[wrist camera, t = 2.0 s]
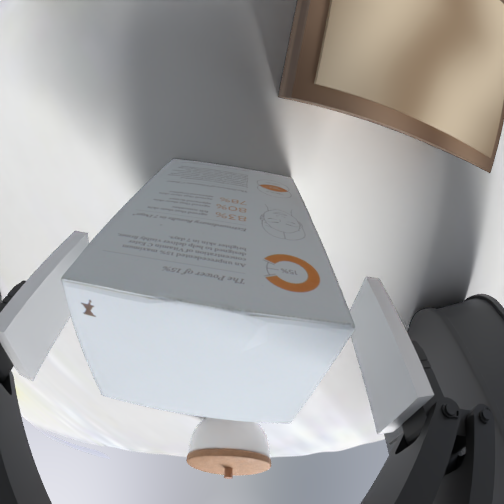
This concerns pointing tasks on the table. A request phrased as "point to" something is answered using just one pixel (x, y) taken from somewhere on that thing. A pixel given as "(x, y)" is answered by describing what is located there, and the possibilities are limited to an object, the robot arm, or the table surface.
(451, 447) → the robot arm
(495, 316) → the speaker
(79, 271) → the small box
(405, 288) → the table surface
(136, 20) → the table surface
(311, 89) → the brown square box
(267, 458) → the lidded jar
